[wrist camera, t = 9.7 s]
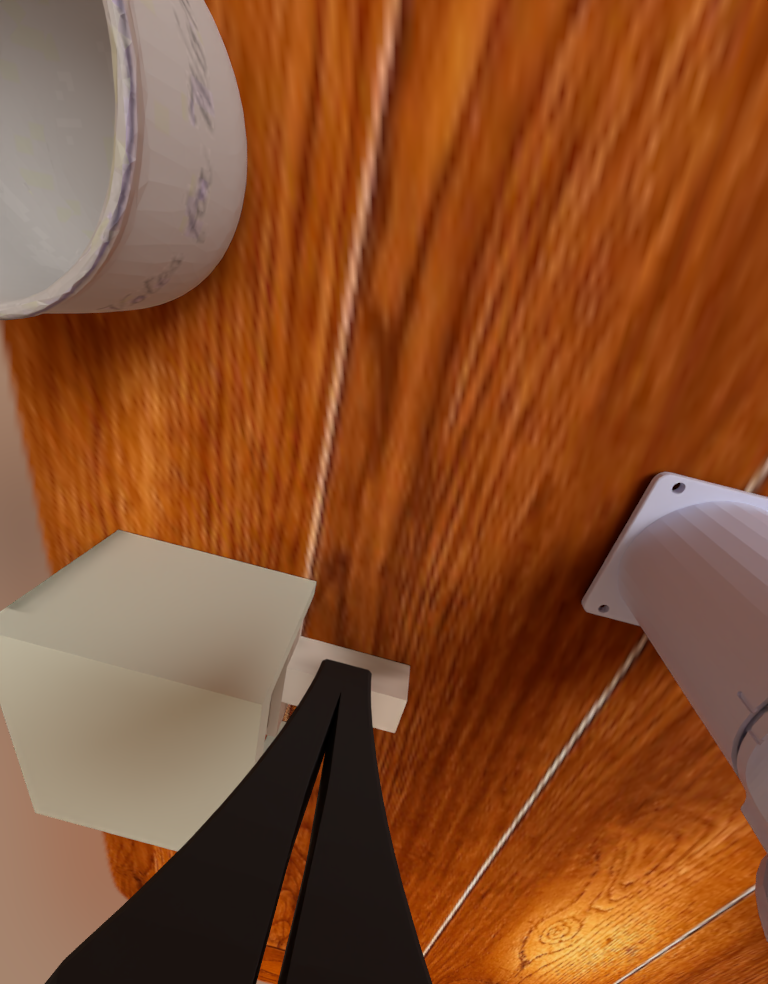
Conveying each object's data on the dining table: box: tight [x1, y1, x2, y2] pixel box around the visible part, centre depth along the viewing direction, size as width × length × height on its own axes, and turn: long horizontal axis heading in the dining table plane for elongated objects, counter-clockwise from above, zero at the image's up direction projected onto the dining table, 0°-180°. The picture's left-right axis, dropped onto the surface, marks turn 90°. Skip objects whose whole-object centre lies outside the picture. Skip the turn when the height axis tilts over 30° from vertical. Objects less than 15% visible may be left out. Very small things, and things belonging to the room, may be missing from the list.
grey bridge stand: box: [0, 530, 316, 851], centre depth 22 cm, size 12×14×8 cm
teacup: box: [0, 0, 247, 320], centre depth 11 cm, size 14×11×8 cm
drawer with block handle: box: [266, 622, 410, 737], centre depth 24 cm, size 17×10×2 cm, turn 77°
